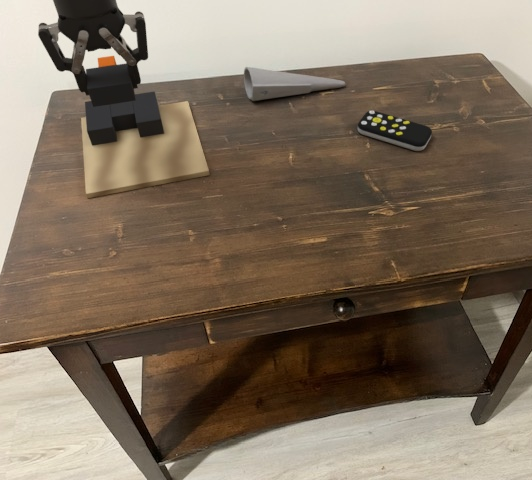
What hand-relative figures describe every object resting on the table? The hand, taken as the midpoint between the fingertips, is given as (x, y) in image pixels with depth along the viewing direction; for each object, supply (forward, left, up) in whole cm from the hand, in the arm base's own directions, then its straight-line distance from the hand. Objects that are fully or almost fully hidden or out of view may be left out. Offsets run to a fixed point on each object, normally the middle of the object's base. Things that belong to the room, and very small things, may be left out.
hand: (112, 88), depth 79 cm
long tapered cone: (+32, +13, -14) cm, 38 cm away
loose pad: (0, +1, -1) cm, 2 cm away
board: (+2, +3, -14) cm, 14 cm away
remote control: (+45, -6, -14) cm, 47 cm away
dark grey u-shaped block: (0, +9, -13) cm, 16 cm away
